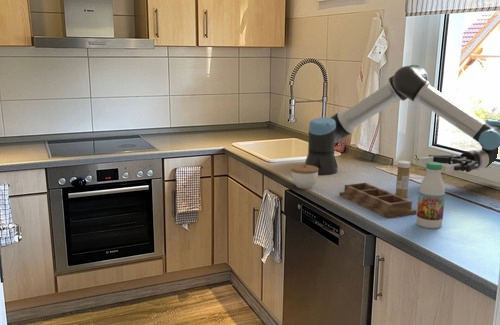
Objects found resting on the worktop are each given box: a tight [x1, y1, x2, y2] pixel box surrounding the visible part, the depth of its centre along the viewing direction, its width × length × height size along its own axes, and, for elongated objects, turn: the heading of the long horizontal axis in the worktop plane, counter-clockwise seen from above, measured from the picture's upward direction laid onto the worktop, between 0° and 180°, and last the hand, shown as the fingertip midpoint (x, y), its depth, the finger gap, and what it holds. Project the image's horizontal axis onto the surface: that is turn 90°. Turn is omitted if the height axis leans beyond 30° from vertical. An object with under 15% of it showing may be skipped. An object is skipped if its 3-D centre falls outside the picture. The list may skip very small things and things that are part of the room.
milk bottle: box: [415, 162, 446, 229], centre depth 154 cm, size 8×8×20 cm
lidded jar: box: [290, 163, 319, 190], centre depth 198 cm, size 11×11×9 cm
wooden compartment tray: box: [338, 182, 417, 219], centre depth 177 cm, size 28×12×4 cm, turn 24°
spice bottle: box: [394, 160, 411, 199], centre depth 185 cm, size 5×5×14 cm
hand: (432, 165), depth 189 cm, fingers open, 13 cm apart
